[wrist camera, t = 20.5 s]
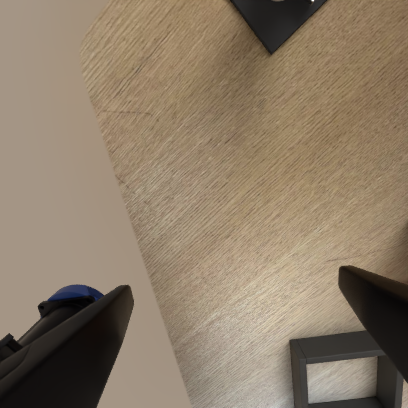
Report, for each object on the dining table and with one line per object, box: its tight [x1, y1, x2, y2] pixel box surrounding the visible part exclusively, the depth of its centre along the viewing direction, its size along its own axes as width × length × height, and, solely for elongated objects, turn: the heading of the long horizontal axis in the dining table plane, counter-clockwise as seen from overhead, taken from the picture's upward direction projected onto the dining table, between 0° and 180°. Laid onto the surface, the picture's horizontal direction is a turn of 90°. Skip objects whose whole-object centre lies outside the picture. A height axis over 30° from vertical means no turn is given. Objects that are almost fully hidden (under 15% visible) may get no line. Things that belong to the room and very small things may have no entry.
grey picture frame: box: [290, 331, 404, 408], centre depth 24 cm, size 12×12×2 cm
